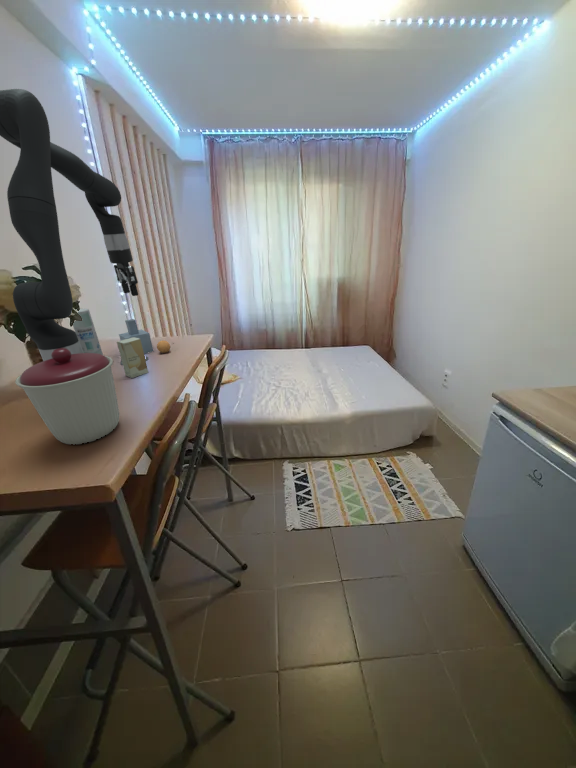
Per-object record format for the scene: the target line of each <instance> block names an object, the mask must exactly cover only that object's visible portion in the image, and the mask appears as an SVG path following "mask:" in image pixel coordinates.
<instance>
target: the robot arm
mask: <svg viewBox="0 0 576 768" xmlns="http://www.w3.org/2000/svg"><path fill="white" fill-rule="evenodd" d="M0 137H1V138H3V139H4V140H6V141H7V142H9V143H11V144H12V145H13V146H15V147H17V148H19V149H20V150H19V151H20V152H19V158H18V161H17V164H16V166H15V168H14V170H13V173H12V175H11V177H10V180H9V183H8V186H7V191H6V193H7V194H6V195H7V197H6V199H7V202H8V203H7V204H8V210H9V217H10V220H11V224H12V226H13V227H14V229H15V231H16V232H17V234H18V235H19V236H20V238H21V239H22V240H23V241H24V243H25V244H26V245H27V246H28V248H29V249H30V250H31V252H32V253H33V254H34V256H35V258H36V260H37V263H38V267H39V271H40V276H41V281H29V282H28V281H27V282H21V283H19V284H17V285H16V286H15V287H14V289H13V292H12V301H13V303H14V308H15V309H16V312H17V314H18V316H19V318H20V320H21V322H22V324H23V326H24V329H25V330H26V332H27V334H28V336H29V338H30V339H31V340H32V341H33V342H34V343H35V344H36V347H37V349H38V350H39V354H40V356H41V358H42V362H43V361H46V360H49V359H52V357H51V354H52V352H53V351H54V350H56V349H59V348H66V349H68V350H69V351H70V352H71V354H78V353H83V351H82V348H81V345H80V343H79V340H78V337H77V334H76V333H75V330H74V329H71V328H67V327H64V326H62V325H60V324H58V323H57V322H56V320H62V319H66V318H70V317H69V316H70V315H71V313H72V310H74V308H73V307H74V302H73V294H72V290H71V286H70V282H69V277H68V274H67V270H66V266H65V260H64V255H63V250H62V242H61V234H60V228H59V227H60V225H59V219H58V217H59V216H58V211H57V205H56V198H55V193H54V191H55V190H54V185H53V176H52V169H53V170H55V171H56V172H57V173H59V174H60V175H62V176H63V177H64V178H65V179H66V180H68V181H69V182H70V183H72V185H74V186H75V187H77V189H78V190H81V192H83V193H84V196H85V198H86V201H87V203H88V204H89V206H90V208H91V210H92V211H93V213H94V215H95V217H96V219H97V220H98V222H99V225H100V229H101V233H102V236H103V241H104V245H105V248H106V252H107V255H108V258H109V261H110V264H113V268H114V271H115V275H116V278H117V281H118V282H119V283H120V284H121V288H122V291H123V293H124V294H131V297H136V296H138V295H139V291H138V288H137V287H138V286H137V284H138V283H139V281H138V279H137V275H136V271H135V268H134V266H133V265H131V266H130V264H129V263H132V262H133V259H134V258H133V255H132V252H131V248H130V244H129V240H128V238H127V235H126V232H125V228H124V224H123V221H122V218H121V217H120V216H119V215H117V214H112V213H109V211H107V209H106V208H109V207H111V208H112V207H113V208H114V207H117V206H119V205H120V204H121V202H122V194H121V191H120V190H119V188H118V187H117V186H116V184H115V183H114V182H113V181H111V180H110V179H108V178H107V177H105V176H103V175H101V174H100V173H98V172H96V171H94V170H93V169H92V168H91V167H90V166H89V165H87V164H86V163H85V162H84V161H83V159H82V158H80V157H79V156H77V155H76V154H75V153H74V152H72V151H69V150H68V149H65V148H64V147H62V146H59V145H57V144H55V143H53V142H51V131H50V125H49V121H48V117H47V114H46V111H45V109H44V107H43V106H42V103H41V102H40V101H39V99H38V98H37V97H36V95H34V94H33V93H32V92H31V91H29V90H27V89H22V88H13V89H12V88H9V89H2V90H0Z"/></svg>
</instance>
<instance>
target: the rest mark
mask: <svg viewBox="0 0 576 768" xmlns="http://www.w3.org/2000/svg"><path fill="white" fill-rule="evenodd" d="M145 356H146V359H145V360H146V362H147V361H148V360H149V359H148V358H149V356H147V355H145ZM120 365H121V366H123V363H122V360H121V361H120Z"/></svg>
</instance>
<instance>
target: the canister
mask: <svg viewBox="0 0 576 768" xmlns="http://www.w3.org/2000/svg"><path fill="white" fill-rule="evenodd" d="M51 357H52V359H49V360H46V361H43V360H42V361H40V362H38V363H35V364H34V365H31V366H30V367H28V368H27V369H25V370H24V371H23V372H22V373H21V374H20V375H19V376H18V377H17V378H16V379H15V381H14V382H15V384H16V386H18V387H19V388H21V389H23V391H24V392H25V394H26V396H27V398H28V399H29V400H30V402H31V404H32V406H33V407H34V408H35V410H36V412H37V413H38V415H39V416H40V418H41V419H42V420H43V423H44V424H45V425H46V427H47V429H48V431H50V433H51V434H52V435H53V437H54V438H55V439H56V440H57V441H58V442H61V443H63V444H66V445H71V444H73V445H75V444H76V445H83V444H82V443H84V444H87V442H89V443H91V442H94V441H97V440H96V439H98V440H99V439H102V438H104V437H105V435H106V436H107V435H109V434H110V433H111V432H113V429H114V430H115V429H116V427H117V426H118V424H119V420H120V410H119V403H118V397H117V390H116V386H115V381H114V380H115V379H114V374H113V369H112V365H113V362H114V361H113V358H112V357H111V356H108V355H104V354H103V355H101V354H97V353H78V354H71V352H70V351H69V350H68V349H66V348H59V349H56V350H54V351H53V352H52V354H51ZM101 437H102V438H101Z"/></svg>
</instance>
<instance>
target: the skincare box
mask: <svg viewBox="0 0 576 768" xmlns="http://www.w3.org/2000/svg"><path fill="white" fill-rule="evenodd" d="M116 344H117V348H118V352H119V356H120V359H121V361H122V363H123V365H122V366H123V370H124V373H125V377H129V378H130V379H134V378H137V377H138V376H142V375H145V374H148V373H149V369H148V365H147V361H146V360H145V356H146V355H145V354H144V352H143V348H142V344H141V340H140V339H139V338H135V337H133V338H129V339H125V340H119V341H116Z"/></svg>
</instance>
